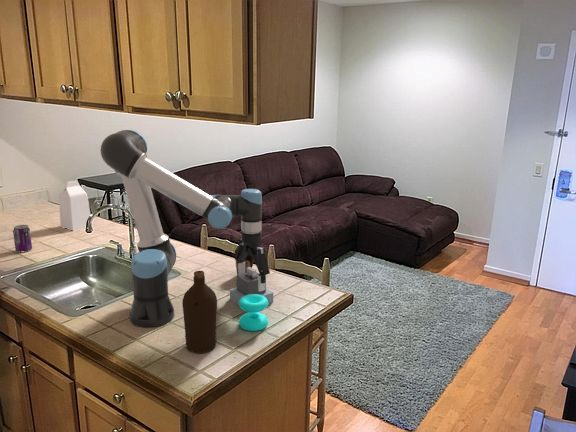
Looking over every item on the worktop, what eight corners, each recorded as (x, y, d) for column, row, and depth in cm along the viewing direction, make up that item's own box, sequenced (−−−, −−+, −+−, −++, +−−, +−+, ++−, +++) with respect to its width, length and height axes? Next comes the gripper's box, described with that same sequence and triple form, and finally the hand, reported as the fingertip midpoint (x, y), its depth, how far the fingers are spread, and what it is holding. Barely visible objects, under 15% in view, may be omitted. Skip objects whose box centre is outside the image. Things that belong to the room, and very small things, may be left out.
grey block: (265, 292, 184) (265, 277, 182) (248, 297, 179) (248, 282, 177) (254, 285, 190) (254, 270, 188) (236, 290, 185) (236, 275, 183)
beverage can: (33, 251, 232) (30, 227, 229) (16, 253, 228) (13, 229, 225) (31, 247, 238) (28, 223, 235) (15, 249, 234) (11, 225, 231)
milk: (73, 231, 263) (68, 184, 256) (60, 227, 269) (55, 181, 262) (92, 226, 273) (88, 181, 266) (79, 222, 279) (75, 178, 272)
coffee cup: (251, 280, 204) (251, 251, 200) (232, 278, 205) (231, 249, 202) (256, 273, 212) (256, 245, 209) (238, 271, 214) (238, 243, 210)
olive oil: (222, 349, 151) (221, 275, 145) (189, 358, 146) (187, 281, 140) (211, 334, 160) (209, 263, 154) (180, 341, 155) (176, 269, 149)
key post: (252, 293, 182) (252, 271, 180) (246, 289, 186) (246, 267, 183) (256, 292, 183) (256, 270, 181) (250, 288, 187) (250, 266, 184)
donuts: (243, 291, 170) (271, 294, 168) (243, 317, 172) (270, 320, 171) (235, 303, 160) (264, 306, 159) (235, 330, 163) (264, 334, 161)
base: (246, 310, 177) (246, 300, 176) (229, 298, 187) (229, 289, 185) (273, 302, 185) (273, 292, 183) (255, 291, 194) (255, 282, 193)
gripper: (280, 238, 171) (279, 293, 176) (241, 221, 190) (242, 271, 195) (262, 241, 166) (262, 298, 172) (225, 224, 185) (226, 276, 191)
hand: (251, 284), depth 184 cm, fingers open, 13 cm apart
